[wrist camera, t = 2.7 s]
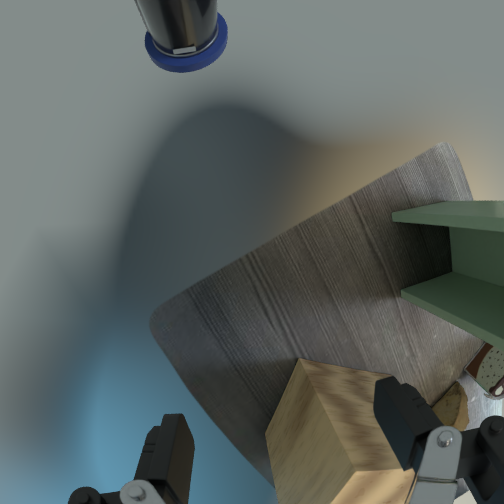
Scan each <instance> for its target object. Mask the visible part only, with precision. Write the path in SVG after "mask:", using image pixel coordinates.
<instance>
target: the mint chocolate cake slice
mask: <svg viewBox="0 0 504 504" xmlns="http://www.w3.org/2000/svg"><path fill="white" fill-rule="evenodd" d="M464 370H465V372H466V373H468V374H469V375H470V376H471V377H472V378H473V379H474V380H475V381H476V382H477V383H478V384H479V385H480V386H481V387H482V388H483V389H484V390H485V391H486V392H487V393H488V394H489V395H487V394H485V393H484V395H485V396H486V397H488V398H490V399H493V400H500V399H503V398H504V351H502V350H500V349H498V348H496V347H494V346H493V345H491V344H489V343H487V342H484V344H483V345H482V346H481V348H480V349H479V350H478V352H477V353H476V354H475V355H474V357H473V358H472V359H471V360H470V362H469V363H468V364H467V365H466V366H465V368H464Z"/></svg>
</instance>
